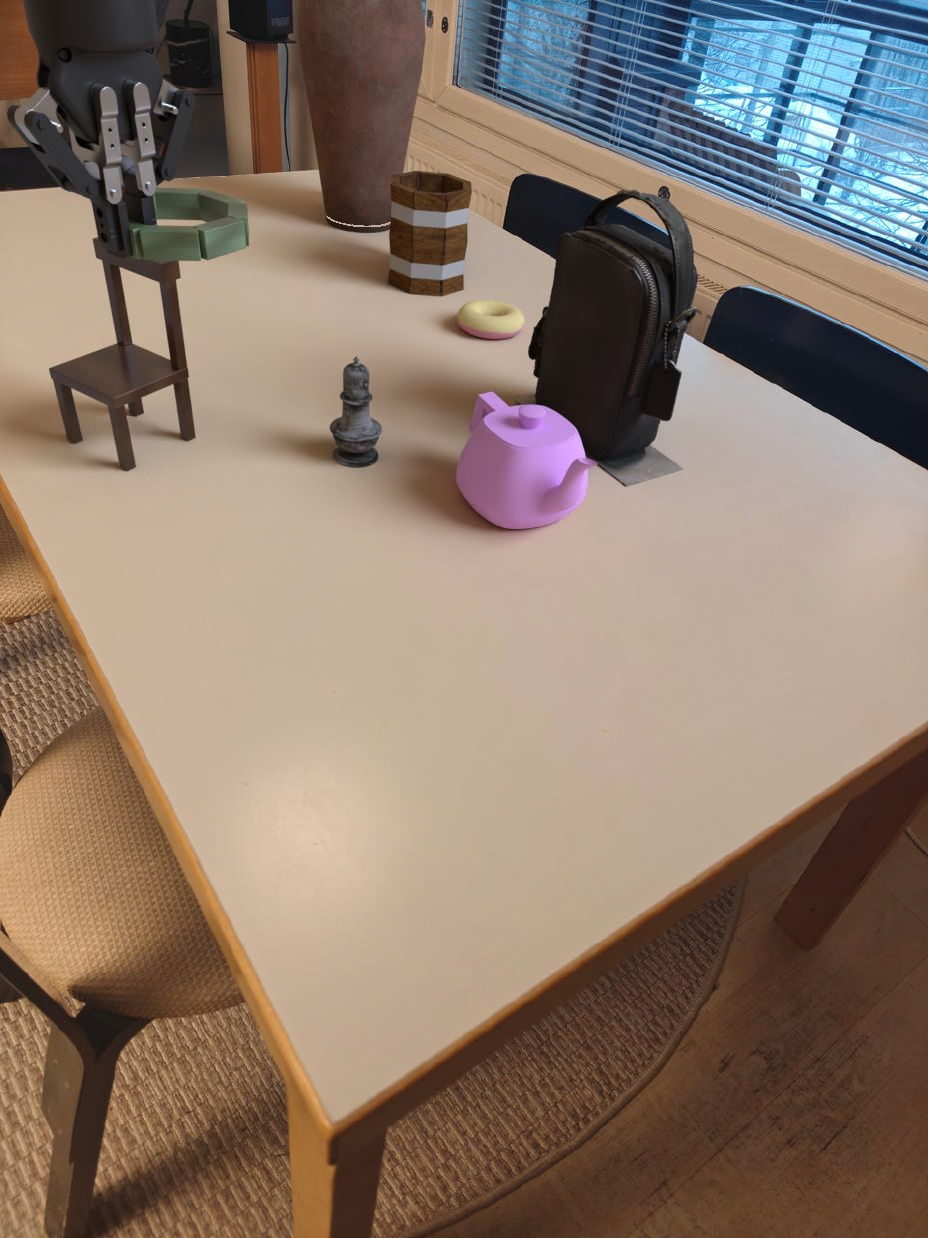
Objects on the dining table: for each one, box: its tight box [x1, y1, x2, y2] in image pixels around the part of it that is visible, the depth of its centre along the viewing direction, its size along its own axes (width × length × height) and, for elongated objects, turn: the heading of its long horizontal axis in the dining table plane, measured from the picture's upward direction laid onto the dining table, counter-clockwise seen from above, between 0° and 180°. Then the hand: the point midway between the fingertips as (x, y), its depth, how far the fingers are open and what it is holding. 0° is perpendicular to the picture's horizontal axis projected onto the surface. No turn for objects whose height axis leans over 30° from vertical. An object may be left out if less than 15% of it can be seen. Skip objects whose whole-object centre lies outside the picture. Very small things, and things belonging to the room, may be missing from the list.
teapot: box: [455, 391, 598, 530], centre depth 91 cm, size 13×20×11 cm
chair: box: [48, 186, 196, 472], centre depth 89 cm, size 11×10×26 cm
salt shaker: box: [329, 355, 383, 468], centre depth 95 cm, size 6×6×12 cm
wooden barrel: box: [387, 170, 473, 297], centre depth 140 cm, size 20×14×15 cm
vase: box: [296, 0, 427, 234], centre depth 150 cm, size 21×26×45 cm
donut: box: [456, 299, 525, 340], centre depth 129 cm, size 10×5×9 cm
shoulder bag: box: [514, 188, 699, 487], centre depth 99 cm, size 23×9×28 cm, turn 33°
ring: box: [99, 186, 250, 262], centre depth 64 cm, size 11×11×2 cm
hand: (131, 251), depth 62 cm, fingers closed on ring, 1 cm apart
